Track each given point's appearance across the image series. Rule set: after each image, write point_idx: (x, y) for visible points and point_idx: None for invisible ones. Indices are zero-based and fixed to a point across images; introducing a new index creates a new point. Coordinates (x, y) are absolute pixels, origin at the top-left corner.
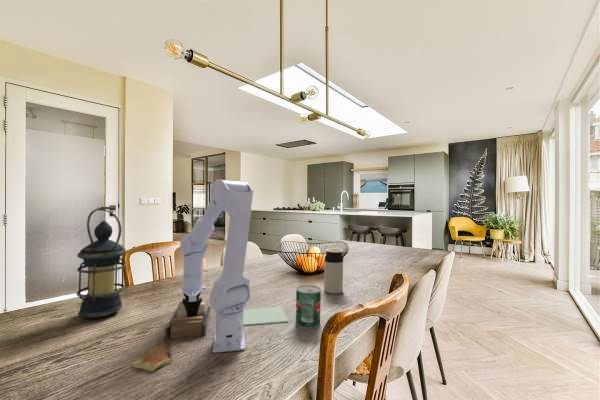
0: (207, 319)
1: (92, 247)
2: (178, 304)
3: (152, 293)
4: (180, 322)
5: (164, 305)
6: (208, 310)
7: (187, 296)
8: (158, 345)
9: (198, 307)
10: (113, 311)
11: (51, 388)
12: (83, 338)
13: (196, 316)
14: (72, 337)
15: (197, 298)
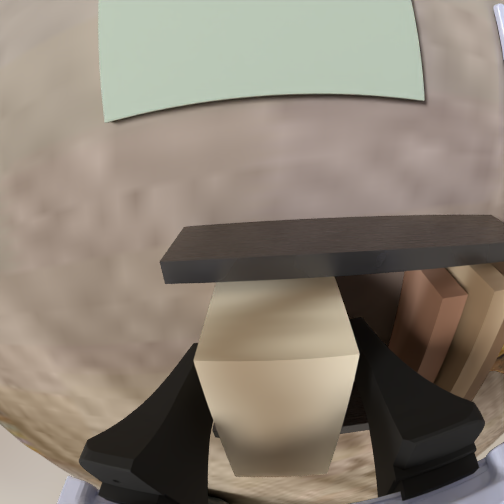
0: (451, 242)
1: None
2: (300, 475)
3: (39, 431)
4: (475, 382)
5: (98, 423)
6: (266, 266)
7: (199, 480)
8: (499, 370)
9: (425, 379)
10: (210, 501)
11: (500, 432)
12: (335, 491)
13: (374, 333)
14: (323, 498)
15: (411, 463)
